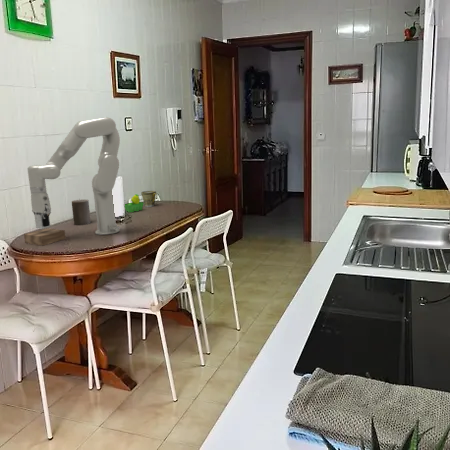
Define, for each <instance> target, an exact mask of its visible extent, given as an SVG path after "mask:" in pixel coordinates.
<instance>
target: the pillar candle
mask: <svg viewBox="0 0 450 450" xmlns="http://www.w3.org/2000/svg"><path fill="white" fill-rule="evenodd" d="M71 209H72V217H73V225H74V226H75V225H76V226H84V225H89V224H91V223H92V222H91V220H92V219H91V211H90V203H89V199H80V198H79V199H75V200H72V201H71Z"/></svg>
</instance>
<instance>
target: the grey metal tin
mask: <svg viewBox="0 0 450 450" xmlns="http://www.w3.org/2000/svg"><path fill="white" fill-rule="evenodd" d="M44 215H45V214H44ZM33 216H34V222H35V223H34V224H35V228H36V229H39V230H43V229H46V228H51V227H52V226H51V221H50V220H51V219H50V218H49V226H46V227H44V226H43V220H42V219H43V216H42V213H38V214H34V213H33Z"/></svg>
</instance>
